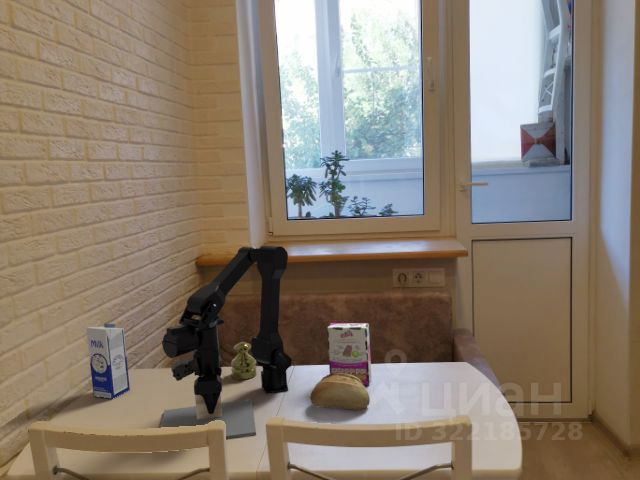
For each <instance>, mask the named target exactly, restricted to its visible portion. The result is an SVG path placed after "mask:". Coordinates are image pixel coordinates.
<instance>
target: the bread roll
mask: <svg viewBox="0 0 640 480" xmlns="http://www.w3.org/2000/svg"><path fill="white" fill-rule="evenodd" d="M365 386H366V385H364V384H363V383H362V382H361V380H360V379H359V378H357V377H356V376H354V375H351V374H346V373H333V374H330V373H329V374H326V376H324V377H322V379H320V381H319V382H317V383H316V384H315V386H314V387H313V389H312V390H311V393H310V396H309V398H310V403H311V404H312V405H313V406H315V407H320V408H321V407H322V408H332V409H333V408H336V409H346V410H354V411H355V410H356V411H357V410H358V411H361V410H363V409H364V410H365V408H366V407H368V406H369V405H370V395H369V392H368V390H367V388H366V387H365Z"/></svg>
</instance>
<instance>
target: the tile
mask: <svg viewBox="0 0 640 480" xmlns="http://www.w3.org/2000/svg"><path fill="white" fill-rule="evenodd" d="M221 393H222V392H221ZM221 393H220V396H219V399H218V402H217V405H216V408H215V410H214V413H213V414H209V413H208V410H207V407H206V404H205V402H204V399H203V397H202V396H201V395H195V394H194V397H195V398H194V399H195V406H196V413H197V420H198V419H206V418H213V417H221V416H222V406H221V403H222V395H221Z"/></svg>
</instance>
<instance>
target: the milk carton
mask: <svg viewBox="0 0 640 480" xmlns="http://www.w3.org/2000/svg"><path fill="white" fill-rule="evenodd" d="M85 330H86V337H87V338H86V339H87V349H88V355H89V356H88V358H89V365H90V366H89V367H90V373H91V374H90V375H91V383H92V392H93V396H94V395H95V396H99V397H105V398H104V399H106V398H109V399H108V400H112V399H113V398H115V397H116V398H118V397H120V396H121V394H122V395H124V394H125V393H127V392H128V390H129V391H130V389H131V386H130V378H129V368H128V360H127V359H128V358H127V349H126V341H125V339H126V338H125V328H123V327H122V328H121V327H120V328H119V327H116V323H109V322H107V323H106V322H105V323H104V326H89V327H85ZM126 391H127V392H126ZM124 392H125V393H124ZM119 395H120V396H119ZM117 396H118V397H117ZM99 397H98V398H99ZM116 398H115V399H116ZM113 400H114V399H113Z"/></svg>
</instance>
